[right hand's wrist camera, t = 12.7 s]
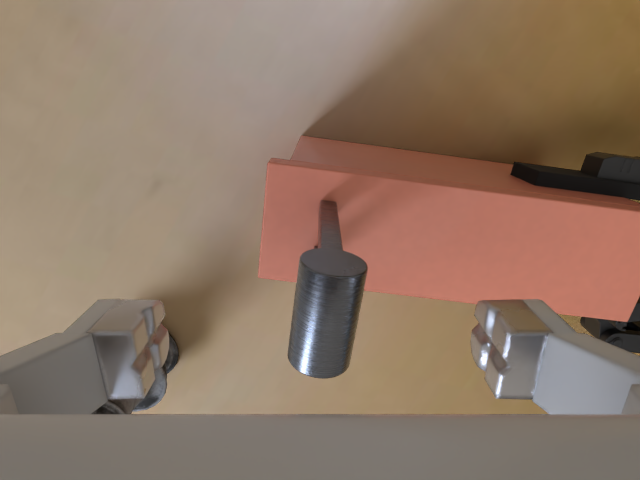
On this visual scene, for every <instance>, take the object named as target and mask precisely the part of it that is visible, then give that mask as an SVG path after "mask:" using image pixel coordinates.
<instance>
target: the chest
mask: <svg viewBox="0 0 640 480" xmlns="http://www.w3.org/2000/svg"><path fill="white" fill-rule="evenodd" d="M291 161H299V162H306V163H314V164H321V165H328V166H336V167H343V168H351V169H358V170H366V171H373V172H381V173H388V174H396V175H403V176H411V177H418V178H426V179H433V180H441V181H448V182H456V183H463V184H471V185H478V186H486V187H493V188H501V189H508V190H516V191H523V192H530V193H538V194H545V195H553V196H560V197H568V198H575V199H583V200H590V201H598V202H605V203H613V204H620V205H628V206H635V207H640V203H638V202H635V201H632V200H630V199H627V198H623V197H616V196H608V195H601V194H594V193H586V192H579V191H571V190H564V189H556V188H549V187H541V186H534V185H532V184H530V183H528V182H525V181H523V180H521V179H519V178H516V177H514V176H512V175H510V174H511V171H512V168H513V164H506V163H499V162H491V161H484V160H477V159H469V158H462V157H455V156H447V155H440V154H433V153H426V152H418V151H411V150H404V149H396V148H389V147H382V146H374V145H367V144H360V143H352V142H345V141H338V140H330V139H323V138H316V137H308V136H301V137H300V139H299V142H298V144H297V146H296V148H295V151H294V153H293V155H292V158H291Z"/></svg>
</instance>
